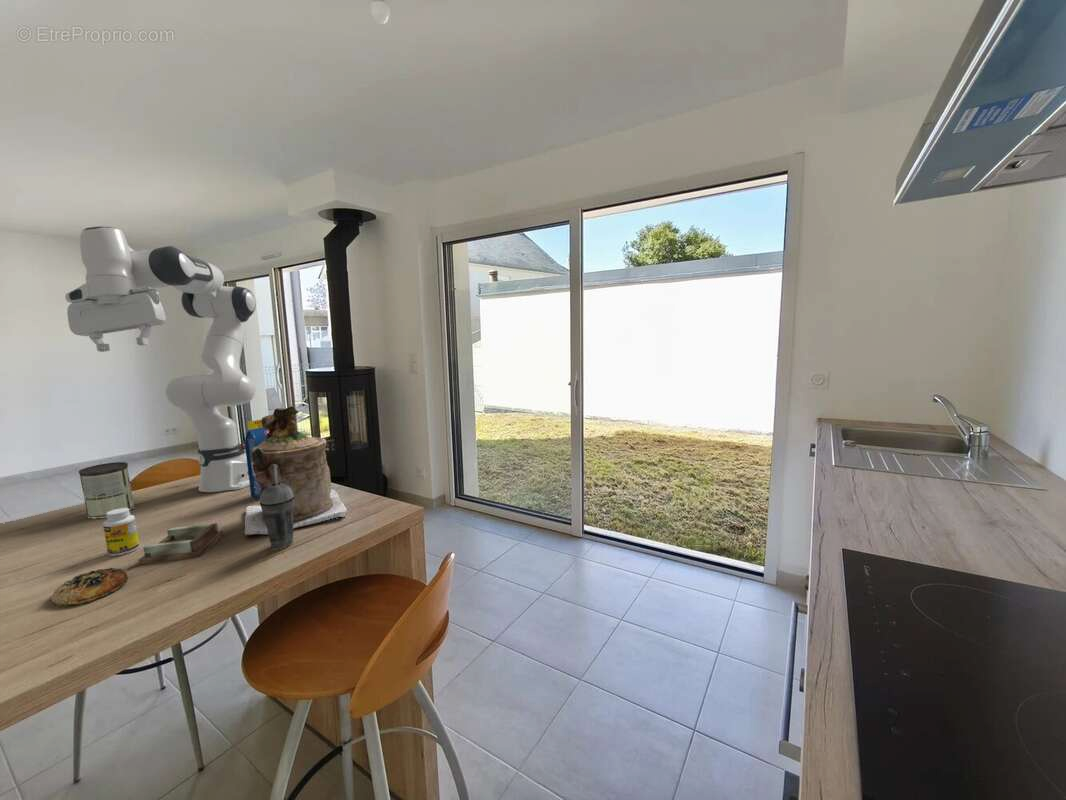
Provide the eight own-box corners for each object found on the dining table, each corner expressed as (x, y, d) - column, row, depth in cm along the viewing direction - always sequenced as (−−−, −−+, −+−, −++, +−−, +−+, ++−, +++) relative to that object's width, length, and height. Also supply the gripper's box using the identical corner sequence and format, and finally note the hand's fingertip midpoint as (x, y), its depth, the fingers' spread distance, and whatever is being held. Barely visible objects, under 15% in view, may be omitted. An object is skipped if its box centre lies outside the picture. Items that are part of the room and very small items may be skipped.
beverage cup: (260, 554, 100) (250, 471, 98) (270, 540, 107) (261, 463, 105) (295, 549, 102) (286, 468, 100) (302, 536, 109) (294, 460, 107)
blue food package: (298, 488, 147) (290, 416, 143) (262, 500, 136) (253, 422, 133) (286, 485, 149) (279, 414, 146) (250, 497, 139) (241, 421, 135)
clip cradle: (139, 563, 97) (136, 549, 97) (170, 540, 109) (168, 527, 109) (199, 556, 100) (197, 542, 100) (223, 534, 112) (222, 521, 111)
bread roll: (139, 571, 94) (133, 551, 93) (112, 606, 84) (105, 585, 83) (74, 584, 90) (66, 564, 89) (38, 622, 80) (28, 600, 79)
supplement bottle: (101, 557, 101) (94, 516, 100) (122, 546, 106) (116, 506, 105) (126, 556, 101) (119, 515, 100) (146, 545, 107) (139, 505, 105)
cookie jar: (336, 493, 141) (327, 396, 136) (349, 518, 120) (339, 405, 116) (246, 510, 128) (233, 404, 123) (243, 542, 107) (228, 416, 103)
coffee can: (80, 516, 127) (72, 469, 125) (125, 503, 136) (118, 460, 134) (96, 521, 122) (87, 473, 120) (141, 508, 131) (134, 464, 129)
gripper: (167, 289, 110) (176, 342, 110) (83, 302, 108) (93, 356, 109) (146, 282, 103) (156, 339, 103) (57, 296, 102) (68, 353, 102)
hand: (123, 348), depth 106 cm, fingers open, 8 cm apart
